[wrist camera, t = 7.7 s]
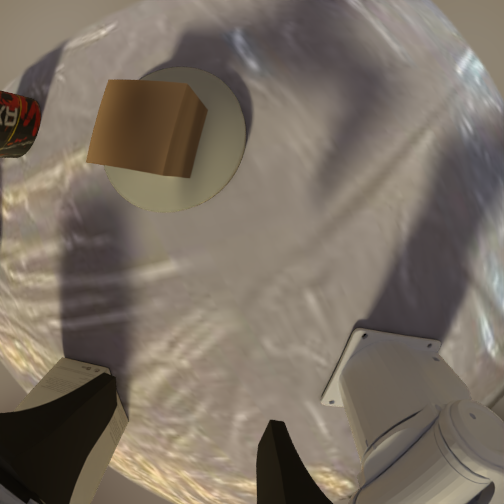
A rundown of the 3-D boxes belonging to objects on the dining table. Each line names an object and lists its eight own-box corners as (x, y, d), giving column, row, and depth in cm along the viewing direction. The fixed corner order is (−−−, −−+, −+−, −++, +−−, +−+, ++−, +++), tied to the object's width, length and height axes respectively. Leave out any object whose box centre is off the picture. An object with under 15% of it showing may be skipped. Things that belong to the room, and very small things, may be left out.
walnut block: (208, 110, 16) (187, 83, 11) (190, 178, 17) (162, 175, 12) (145, 102, 16) (108, 79, 11) (128, 166, 17) (86, 162, 12)
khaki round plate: (258, 83, 17) (257, 72, 15) (232, 220, 19) (229, 224, 17) (130, 77, 17) (119, 68, 15) (106, 200, 19) (92, 202, 17)
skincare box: (63, 354, 22) (-26, 445, 7) (113, 366, 22) (26, 487, 7) (86, 411, 24) (25, 501, 9) (133, 425, 24) (80, 533, 9)
